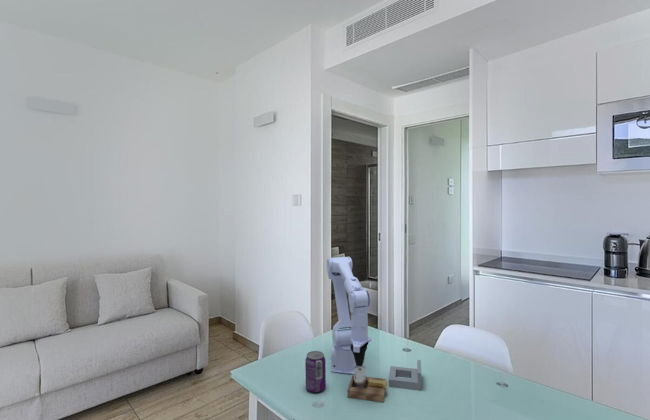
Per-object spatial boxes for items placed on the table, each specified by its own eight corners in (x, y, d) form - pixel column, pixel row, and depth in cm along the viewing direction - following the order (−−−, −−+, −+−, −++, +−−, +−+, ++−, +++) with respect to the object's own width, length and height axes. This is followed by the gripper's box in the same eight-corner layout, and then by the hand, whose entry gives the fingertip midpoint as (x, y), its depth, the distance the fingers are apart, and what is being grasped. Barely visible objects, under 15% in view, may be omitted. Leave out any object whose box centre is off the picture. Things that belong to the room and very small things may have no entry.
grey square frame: (388, 386, 118) (388, 369, 118) (390, 372, 128) (390, 356, 127) (421, 390, 115) (421, 373, 115) (420, 375, 125) (420, 360, 125)
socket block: (347, 397, 111) (347, 390, 111) (352, 381, 121) (352, 375, 121) (383, 402, 108) (383, 394, 108) (385, 386, 118) (385, 379, 118)
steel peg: (353, 393, 114) (353, 370, 114) (355, 387, 118) (355, 364, 118) (365, 394, 113) (364, 371, 113) (366, 388, 117) (366, 365, 117)
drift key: (368, 386, 113) (367, 382, 113) (369, 381, 116) (369, 378, 116) (386, 388, 112) (386, 384, 112) (387, 383, 115) (387, 380, 115)
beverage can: (328, 384, 120) (328, 351, 119) (321, 395, 113) (321, 360, 113) (310, 381, 122) (309, 349, 122) (302, 391, 115) (302, 357, 115)
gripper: (368, 334, 107) (368, 375, 107) (373, 318, 121) (373, 355, 121) (346, 332, 109) (347, 373, 109) (354, 317, 123) (354, 353, 123)
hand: (359, 364), depth 115 cm, fingers closed
